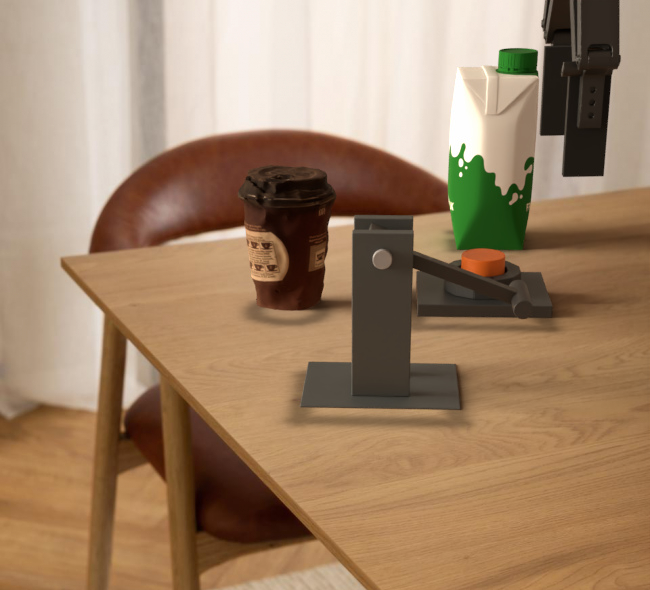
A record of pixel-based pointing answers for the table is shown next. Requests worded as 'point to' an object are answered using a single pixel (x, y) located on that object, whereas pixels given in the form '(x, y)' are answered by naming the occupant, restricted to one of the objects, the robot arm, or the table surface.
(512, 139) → the milk carton
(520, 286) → the switch lever
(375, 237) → the upright post stand
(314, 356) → the table surface
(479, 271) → the button
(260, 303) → the coffee cup
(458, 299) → the control block
